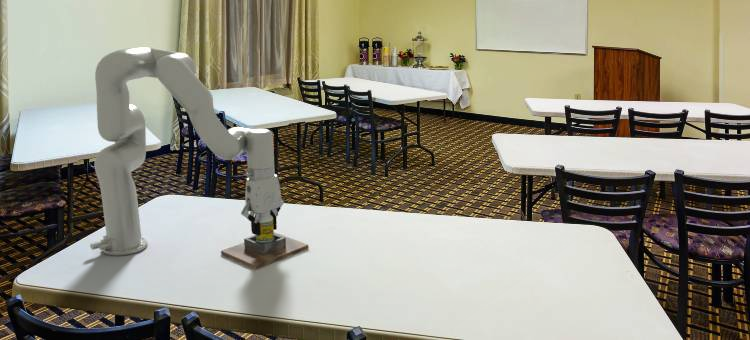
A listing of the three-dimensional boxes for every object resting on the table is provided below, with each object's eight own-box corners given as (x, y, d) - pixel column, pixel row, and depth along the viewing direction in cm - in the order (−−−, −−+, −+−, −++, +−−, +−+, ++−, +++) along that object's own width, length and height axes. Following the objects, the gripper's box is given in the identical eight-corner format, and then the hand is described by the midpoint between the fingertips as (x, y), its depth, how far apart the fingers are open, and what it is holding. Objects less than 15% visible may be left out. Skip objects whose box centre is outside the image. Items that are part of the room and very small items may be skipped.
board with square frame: (255, 269, 164) (254, 255, 163) (221, 254, 174) (220, 241, 173) (308, 248, 179) (308, 235, 178) (274, 235, 189) (273, 223, 188)
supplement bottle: (267, 235, 179) (266, 205, 177) (277, 240, 176) (276, 209, 173) (252, 240, 176) (250, 209, 173) (262, 245, 172) (260, 213, 170)
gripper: (245, 181, 162) (248, 243, 166) (292, 168, 174) (294, 226, 179) (228, 176, 166) (232, 236, 171) (275, 164, 179) (278, 221, 184)
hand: (264, 230), depth 175 cm, fingers closed on supplement bottle, 5 cm apart
